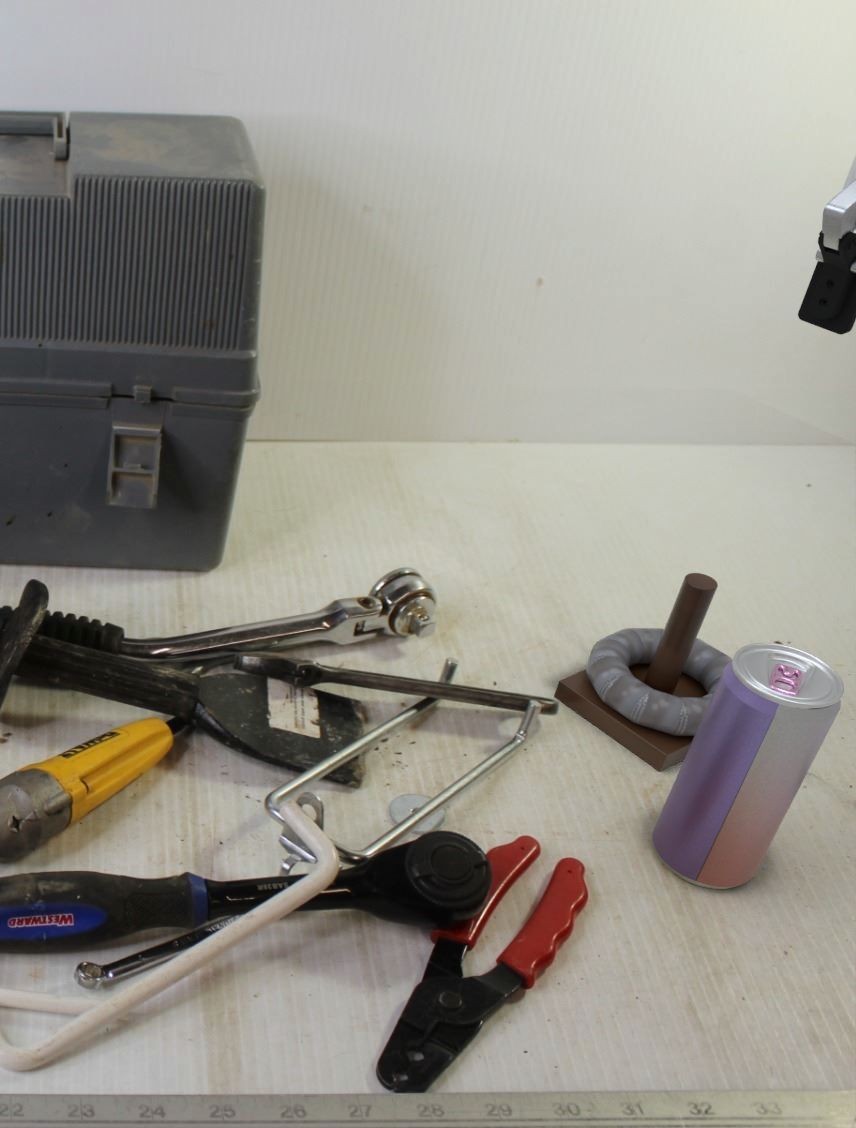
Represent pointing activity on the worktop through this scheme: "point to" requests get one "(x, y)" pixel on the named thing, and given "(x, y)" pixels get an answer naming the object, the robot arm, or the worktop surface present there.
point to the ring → (637, 697)
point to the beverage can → (746, 763)
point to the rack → (652, 680)
